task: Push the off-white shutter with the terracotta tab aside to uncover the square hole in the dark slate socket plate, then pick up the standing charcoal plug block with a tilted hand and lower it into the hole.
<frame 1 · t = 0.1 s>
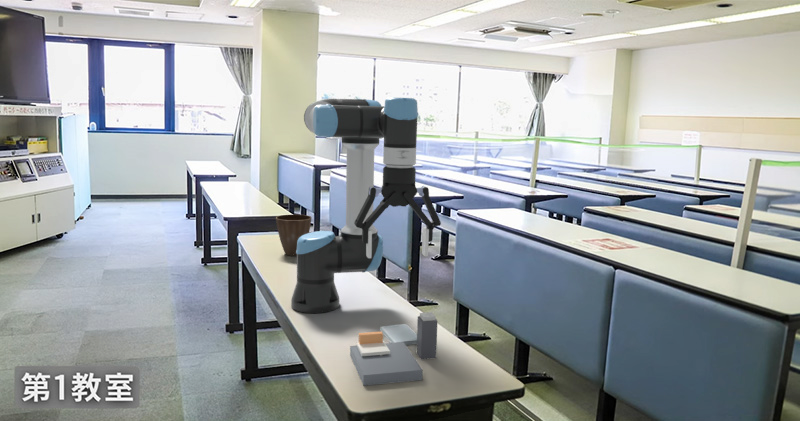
hand: (397, 256, 138), 28 cm above the table, tool pointing down, fingers open, 13 cm apart
plug: (426, 355, 150), on the table
shutter: (373, 343, 146), point 4 cm above the table, slide at 0.0 cm
socket plate: (384, 367, 143), on the table
hard drive: (400, 338, 163), on the table
plant pot: (293, 254, 252), on the table
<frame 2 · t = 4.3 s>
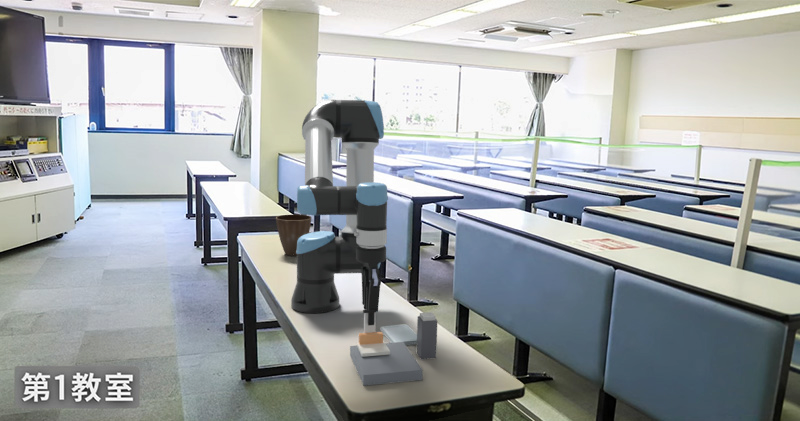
hand: (369, 335, 150), 5 cm above the table, tool pointing down, fingers closed
shutter: (373, 343, 146), point 4 cm above the table, slide at 0.2 cm, touching gripper
everything else where it was.
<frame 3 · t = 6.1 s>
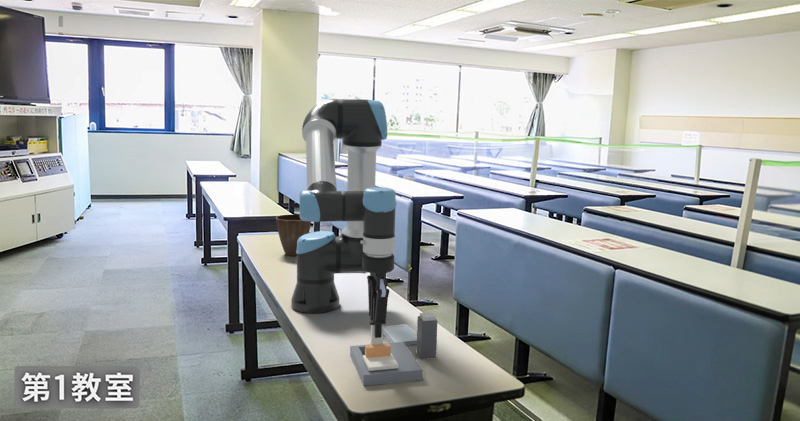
hand: (376, 348, 142), 5 cm above the table, tool pointing down, fingers closed
shutter: (380, 356, 138), point 4 cm above the table, slide at 8.2 cm, touching gripper
everything else where it was.
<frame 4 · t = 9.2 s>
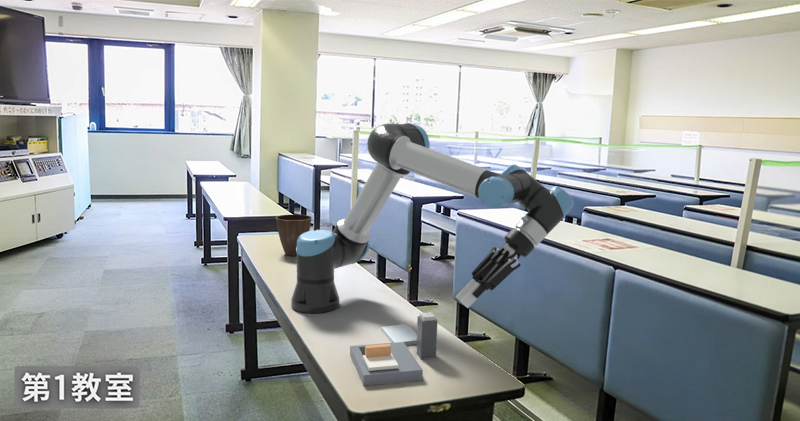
hand: (461, 302, 150), 14 cm above the table, tool tilted 45°, fingers open, 3 cm apart
shutter: (380, 356, 138), point 4 cm above the table, slide at 8.2 cm
everything else where it was.
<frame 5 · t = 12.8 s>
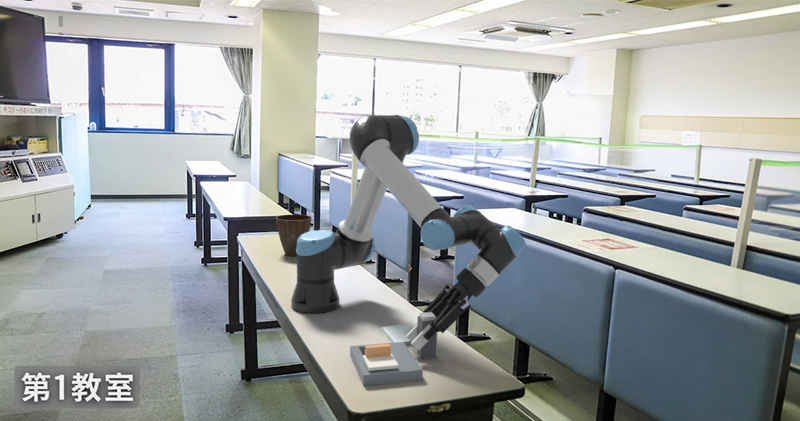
hand: (412, 342, 149), 4 cm above the table, tool tilted 45°, fingers closed on plug, 4 cm apart
plug: (426, 355, 150), on the table, touching gripper
everything else where it was.
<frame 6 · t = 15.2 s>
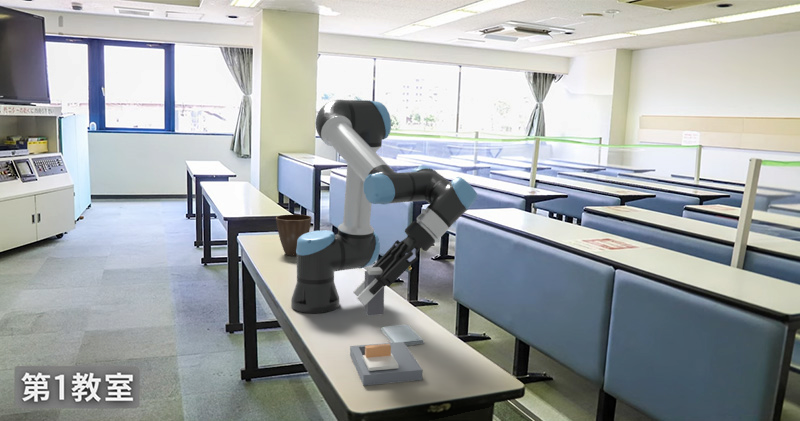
hand: (358, 298, 143), 16 cm above the table, tool tilted 45°, fingers closed on plug, 4 cm apart
plug: (373, 312, 144), point 13 cm above the table, touching gripper
everything else where it was.
when the fingers open (5 cm above the table, at t = 17.8 s): plug drops 1 cm, resting in socket plate.
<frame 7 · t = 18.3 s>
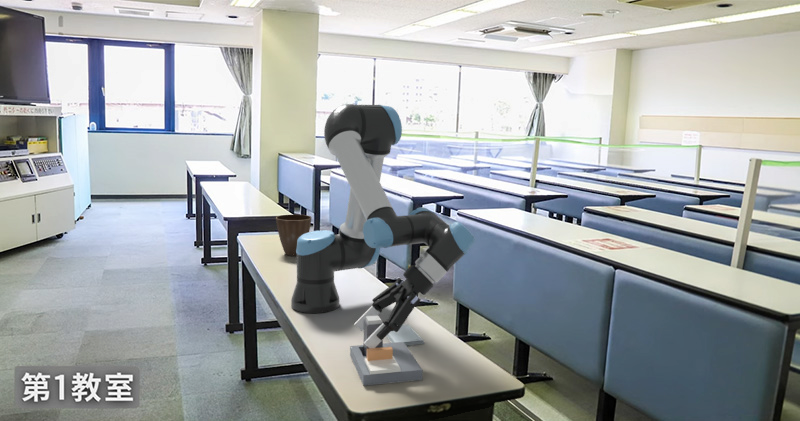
hand: (362, 336, 145), 6 cm above the table, tool tilted 45°, fingers open, 12 cm apart
plug: (372, 360, 147), resting in socket plate
shutter: (382, 360, 136), point 4 cm above the table, slide at 10.0 cm, touching gripper
everything else where it was.
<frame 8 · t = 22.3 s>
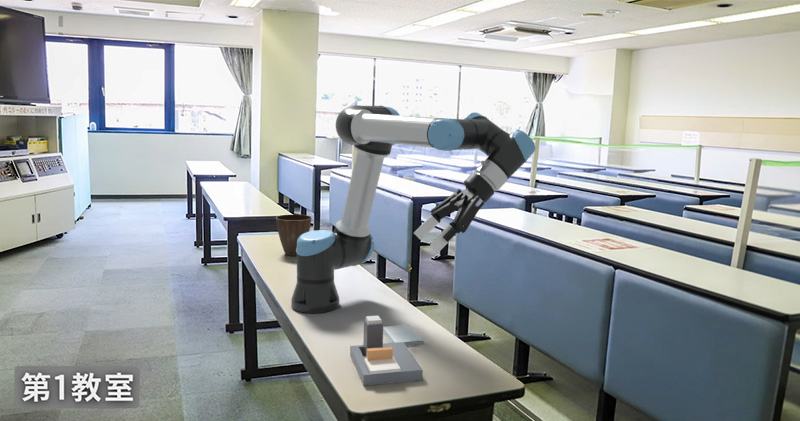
hand: (425, 242, 145), 30 cm above the table, tool tilted 45°, fingers open, 13 cm apart
shutter: (382, 360, 136), point 4 cm above the table, slide at 10.0 cm
everything else where it was.
at the end: plug 0.1 cm from the target spot on the socket plate, point 0.0 cm above the socket plate's base; shutter slide at 10.0 cm; plug tilted 0° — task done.
